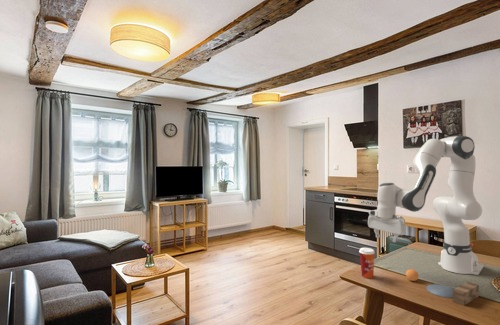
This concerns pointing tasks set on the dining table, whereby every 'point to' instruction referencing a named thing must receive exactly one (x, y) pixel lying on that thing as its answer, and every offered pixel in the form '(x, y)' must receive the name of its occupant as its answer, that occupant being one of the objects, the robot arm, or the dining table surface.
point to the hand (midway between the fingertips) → (385, 239)
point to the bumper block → (465, 293)
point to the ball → (412, 275)
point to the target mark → (441, 290)
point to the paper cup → (367, 262)
